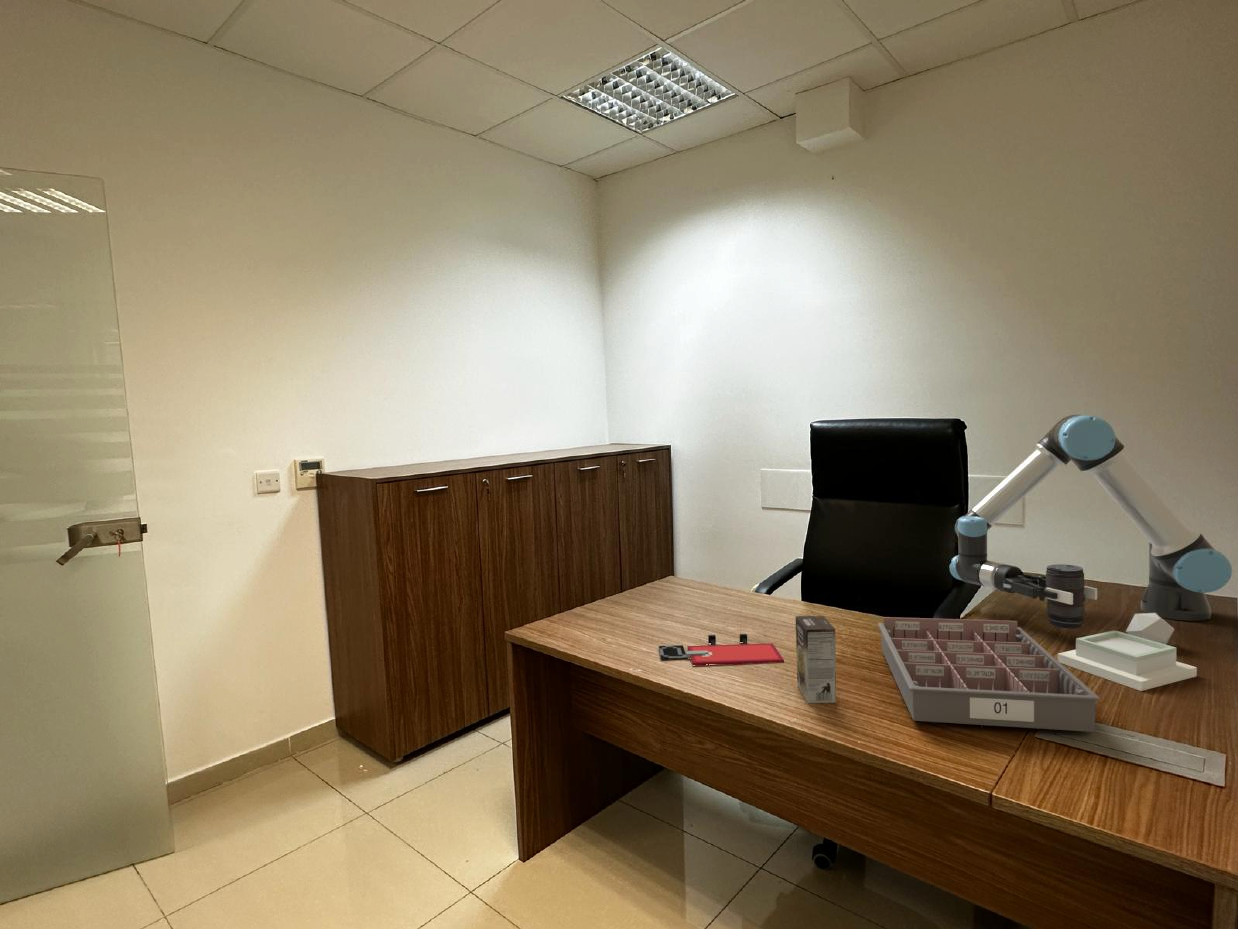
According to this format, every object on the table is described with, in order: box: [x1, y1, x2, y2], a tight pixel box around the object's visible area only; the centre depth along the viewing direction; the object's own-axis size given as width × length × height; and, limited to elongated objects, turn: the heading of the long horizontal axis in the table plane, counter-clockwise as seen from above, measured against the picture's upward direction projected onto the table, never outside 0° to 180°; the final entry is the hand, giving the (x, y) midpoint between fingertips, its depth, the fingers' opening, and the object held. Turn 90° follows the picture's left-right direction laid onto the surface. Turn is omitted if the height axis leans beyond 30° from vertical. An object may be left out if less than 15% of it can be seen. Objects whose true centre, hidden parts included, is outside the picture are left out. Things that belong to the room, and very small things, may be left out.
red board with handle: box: [658, 633, 785, 666], centre depth 168 cm, size 30×3×15 cm
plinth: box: [1057, 630, 1198, 692], centre depth 147 cm, size 18×18×6 cm
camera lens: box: [1045, 563, 1086, 630], centre depth 166 cm, size 8×8×15 cm
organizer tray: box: [877, 616, 1102, 733], centre depth 140 cm, size 32×40×10 cm
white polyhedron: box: [1125, 612, 1175, 645], centre depth 161 cm, size 8×9×10 cm
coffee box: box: [795, 615, 837, 704], centre depth 141 cm, size 9×6×16 cm
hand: (1084, 596), depth 161 cm, fingers closed on camera lens, 8 cm apart
